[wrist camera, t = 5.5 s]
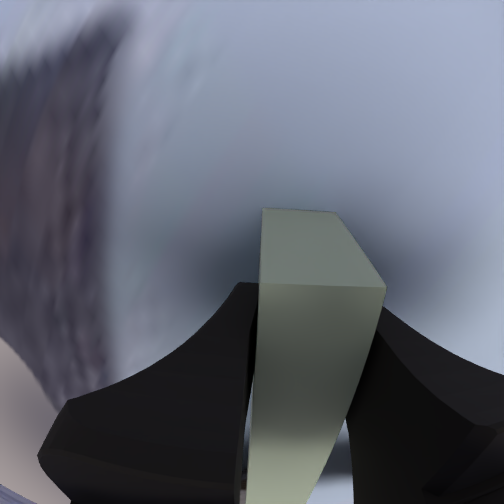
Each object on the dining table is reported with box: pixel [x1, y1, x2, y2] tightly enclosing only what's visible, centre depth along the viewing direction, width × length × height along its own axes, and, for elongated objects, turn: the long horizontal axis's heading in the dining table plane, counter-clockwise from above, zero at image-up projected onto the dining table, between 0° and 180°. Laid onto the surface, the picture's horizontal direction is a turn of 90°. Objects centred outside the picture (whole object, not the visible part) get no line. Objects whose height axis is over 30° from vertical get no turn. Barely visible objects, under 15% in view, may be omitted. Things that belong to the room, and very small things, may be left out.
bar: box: [245, 208, 387, 504], centre depth 11 cm, size 2×16×5 cm, turn 178°
